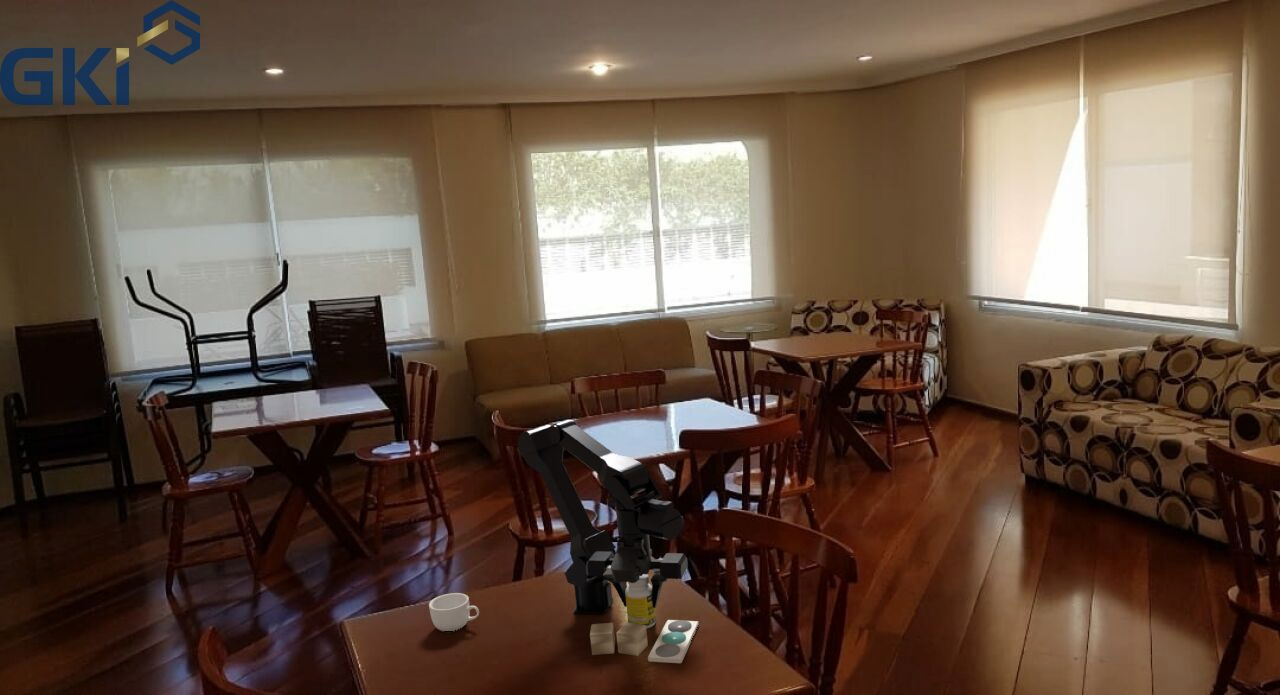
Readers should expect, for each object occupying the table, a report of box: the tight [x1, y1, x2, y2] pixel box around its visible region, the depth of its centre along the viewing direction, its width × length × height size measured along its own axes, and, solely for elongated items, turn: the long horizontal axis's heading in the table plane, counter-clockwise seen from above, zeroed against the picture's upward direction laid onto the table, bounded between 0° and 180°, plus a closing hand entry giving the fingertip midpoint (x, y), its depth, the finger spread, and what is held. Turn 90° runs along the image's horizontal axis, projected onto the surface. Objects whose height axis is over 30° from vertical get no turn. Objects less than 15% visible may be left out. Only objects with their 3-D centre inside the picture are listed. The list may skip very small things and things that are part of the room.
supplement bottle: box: [625, 573, 657, 630], centre depth 173 cm, size 5×5×10 cm
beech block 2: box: [615, 621, 649, 657], centre depth 164 cm, size 4×4×4 cm
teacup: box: [428, 592, 480, 632], centre depth 179 cm, size 10×8×5 cm
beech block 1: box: [589, 622, 616, 656], centre depth 165 cm, size 4×4×4 cm
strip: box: [647, 619, 699, 664], centre depth 165 cm, size 6×14×1 cm, turn 163°
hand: (640, 606), depth 173 cm, fingers closed on supplement bottle, 5 cm apart
